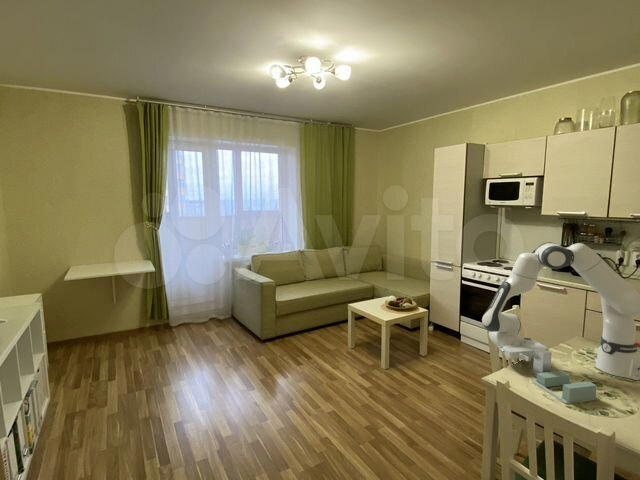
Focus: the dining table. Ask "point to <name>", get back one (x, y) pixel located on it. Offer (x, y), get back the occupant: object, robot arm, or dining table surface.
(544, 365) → the steel block
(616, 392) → the dining table surface
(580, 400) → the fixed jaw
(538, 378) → the block
